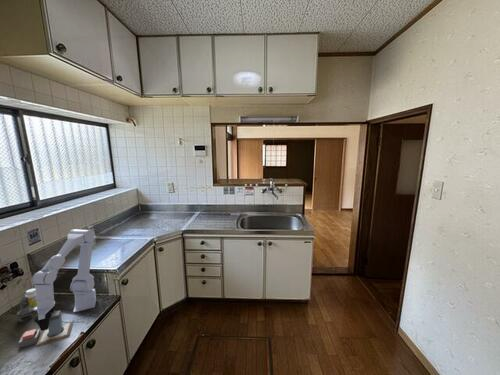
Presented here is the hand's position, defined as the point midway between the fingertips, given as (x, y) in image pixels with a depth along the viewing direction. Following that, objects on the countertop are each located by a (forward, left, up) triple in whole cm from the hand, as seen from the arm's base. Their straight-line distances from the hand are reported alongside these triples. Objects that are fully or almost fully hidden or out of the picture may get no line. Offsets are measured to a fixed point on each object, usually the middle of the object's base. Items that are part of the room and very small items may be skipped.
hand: (47, 324), depth 99 cm
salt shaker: (+13, -21, -6) cm, 25 cm away
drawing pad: (-3, 0, -6) cm, 7 cm away
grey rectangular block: (-3, 0, -5) cm, 6 cm away
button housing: (+6, 0, -6) cm, 8 cm away
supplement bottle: (+13, -31, -6) cm, 34 cm away
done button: (+6, 0, -4) cm, 7 cm away
